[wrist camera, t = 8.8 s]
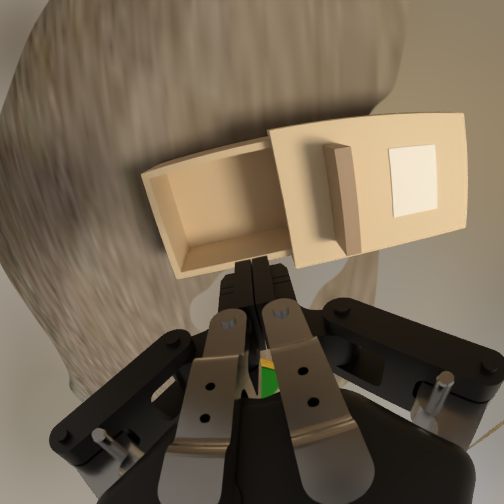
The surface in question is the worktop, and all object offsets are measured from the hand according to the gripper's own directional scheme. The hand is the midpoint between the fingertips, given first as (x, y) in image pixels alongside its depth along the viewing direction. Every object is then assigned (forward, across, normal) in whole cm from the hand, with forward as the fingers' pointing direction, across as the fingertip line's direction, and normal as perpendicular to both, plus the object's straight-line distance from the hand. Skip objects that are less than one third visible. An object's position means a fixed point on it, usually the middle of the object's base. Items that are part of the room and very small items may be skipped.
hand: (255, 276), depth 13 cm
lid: (+12, -12, 0) cm, 17 cm away
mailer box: (+17, -1, 0) cm, 17 cm away
